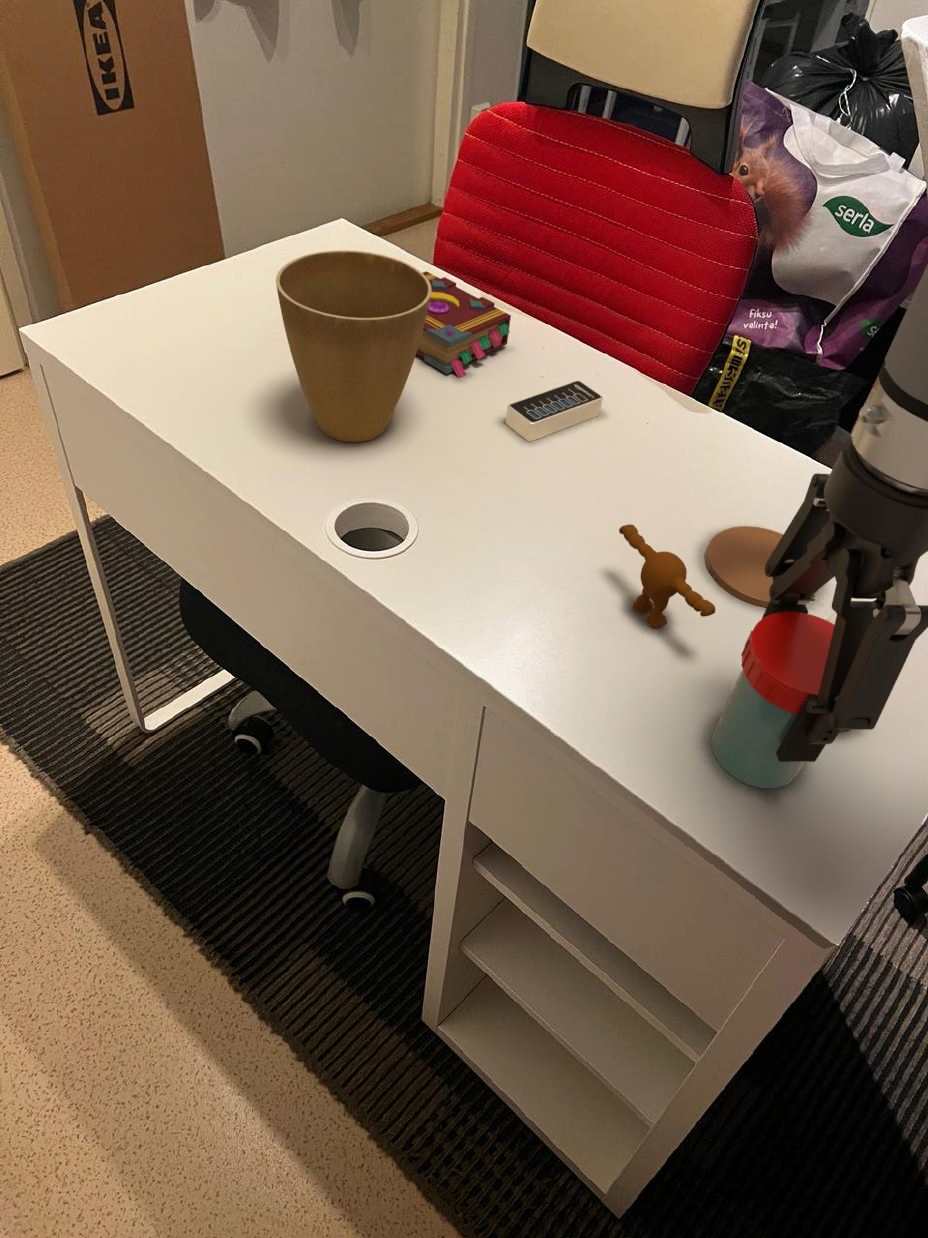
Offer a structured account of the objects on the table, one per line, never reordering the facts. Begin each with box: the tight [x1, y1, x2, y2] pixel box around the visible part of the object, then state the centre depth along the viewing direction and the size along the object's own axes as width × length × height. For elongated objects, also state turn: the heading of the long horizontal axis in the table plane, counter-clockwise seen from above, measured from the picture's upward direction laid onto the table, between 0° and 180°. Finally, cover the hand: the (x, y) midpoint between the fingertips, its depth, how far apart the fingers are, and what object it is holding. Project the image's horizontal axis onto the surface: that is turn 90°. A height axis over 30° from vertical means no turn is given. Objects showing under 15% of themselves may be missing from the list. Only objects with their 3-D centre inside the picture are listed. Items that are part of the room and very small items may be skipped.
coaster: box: [704, 525, 819, 608], centre depth 87 cm, size 11×11×1 cm
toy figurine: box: [618, 524, 716, 629], centre depth 79 cm, size 12×4×7 cm, turn 29°
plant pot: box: [275, 249, 432, 443], centre depth 92 cm, size 15×15×16 cm
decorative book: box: [416, 270, 512, 379], centre depth 111 cm, size 11×16×5 cm
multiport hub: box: [504, 380, 604, 442], centre depth 102 cm, size 4×11×2 cm, turn 127°
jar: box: [711, 669, 806, 789], centre depth 67 cm, size 7×7×11 cm
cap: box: [740, 612, 834, 715], centre depth 64 cm, size 8×8×2 cm
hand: (777, 709), depth 68 cm, fingers closed on cap, 8 cm apart
